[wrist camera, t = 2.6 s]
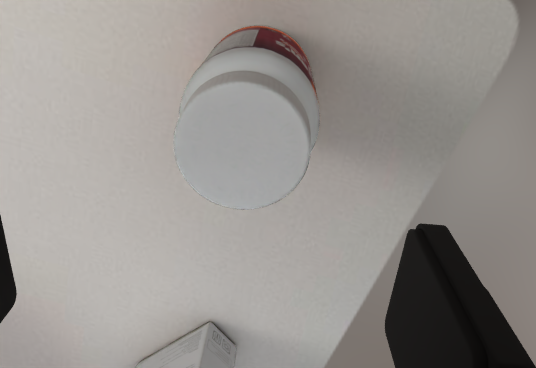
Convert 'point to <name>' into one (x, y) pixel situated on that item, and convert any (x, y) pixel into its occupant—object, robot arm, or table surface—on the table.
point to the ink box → (195, 351)
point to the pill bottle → (248, 120)
